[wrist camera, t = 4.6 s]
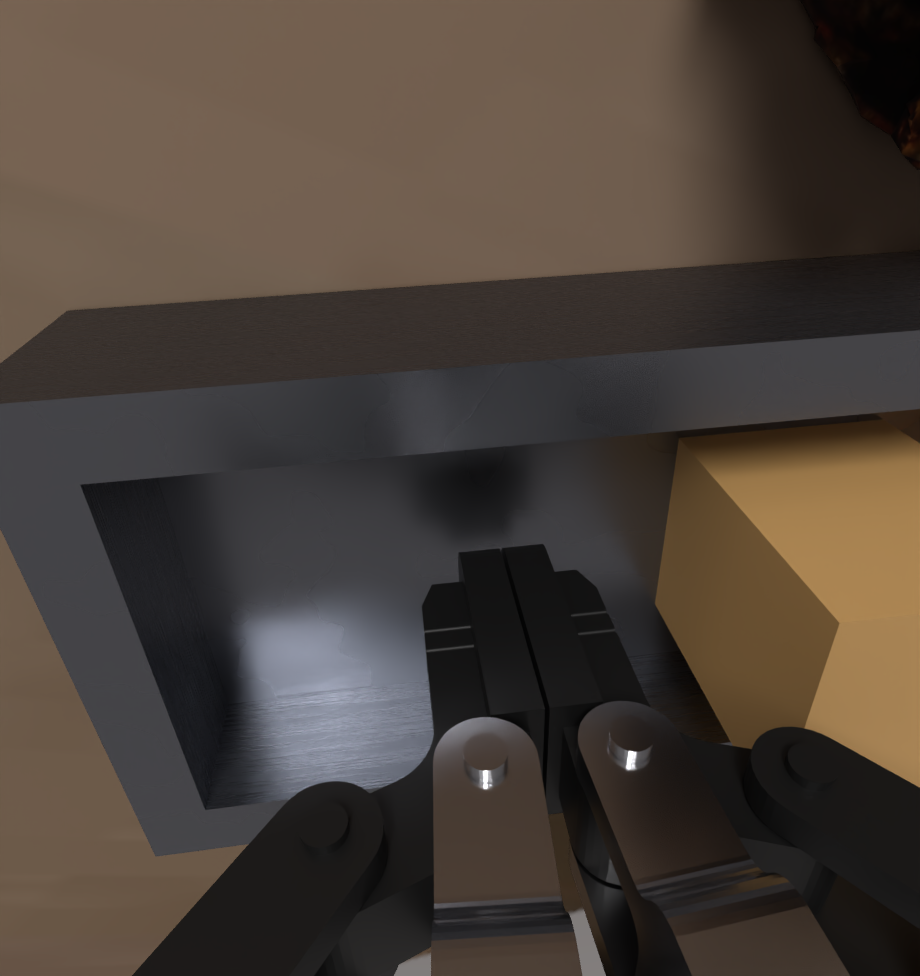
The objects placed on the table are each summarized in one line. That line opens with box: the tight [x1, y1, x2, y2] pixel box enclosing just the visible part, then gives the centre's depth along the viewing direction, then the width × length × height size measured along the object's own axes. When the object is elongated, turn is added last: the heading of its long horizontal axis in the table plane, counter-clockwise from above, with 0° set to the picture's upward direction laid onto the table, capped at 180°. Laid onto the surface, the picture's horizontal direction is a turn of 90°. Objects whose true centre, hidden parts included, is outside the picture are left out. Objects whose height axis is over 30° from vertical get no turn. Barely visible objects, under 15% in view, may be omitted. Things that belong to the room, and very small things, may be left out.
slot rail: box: [0, 251, 920, 856], centre depth 13 cm, size 23×9×4 cm, turn 92°
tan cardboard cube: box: [655, 419, 920, 787], centre depth 12 cm, size 4×4×5 cm
